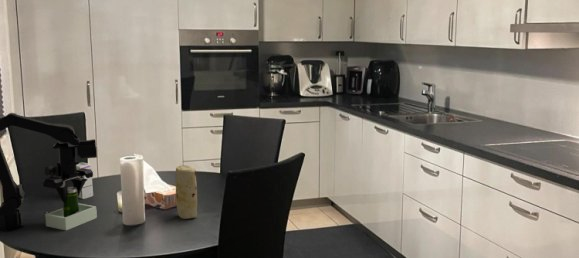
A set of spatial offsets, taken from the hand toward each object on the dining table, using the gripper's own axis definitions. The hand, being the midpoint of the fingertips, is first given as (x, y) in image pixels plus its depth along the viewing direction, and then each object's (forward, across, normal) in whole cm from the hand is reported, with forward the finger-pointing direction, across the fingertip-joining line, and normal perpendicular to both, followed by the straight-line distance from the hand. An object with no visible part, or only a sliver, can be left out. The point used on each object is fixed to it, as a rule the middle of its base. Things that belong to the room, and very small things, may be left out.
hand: (70, 200), depth 206 cm
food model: (+8, -24, +35) cm, 43 cm away
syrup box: (+9, -26, -20) cm, 34 cm away
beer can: (+8, 0, 0) cm, 8 cm away
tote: (+8, 0, 0) cm, 8 cm away
